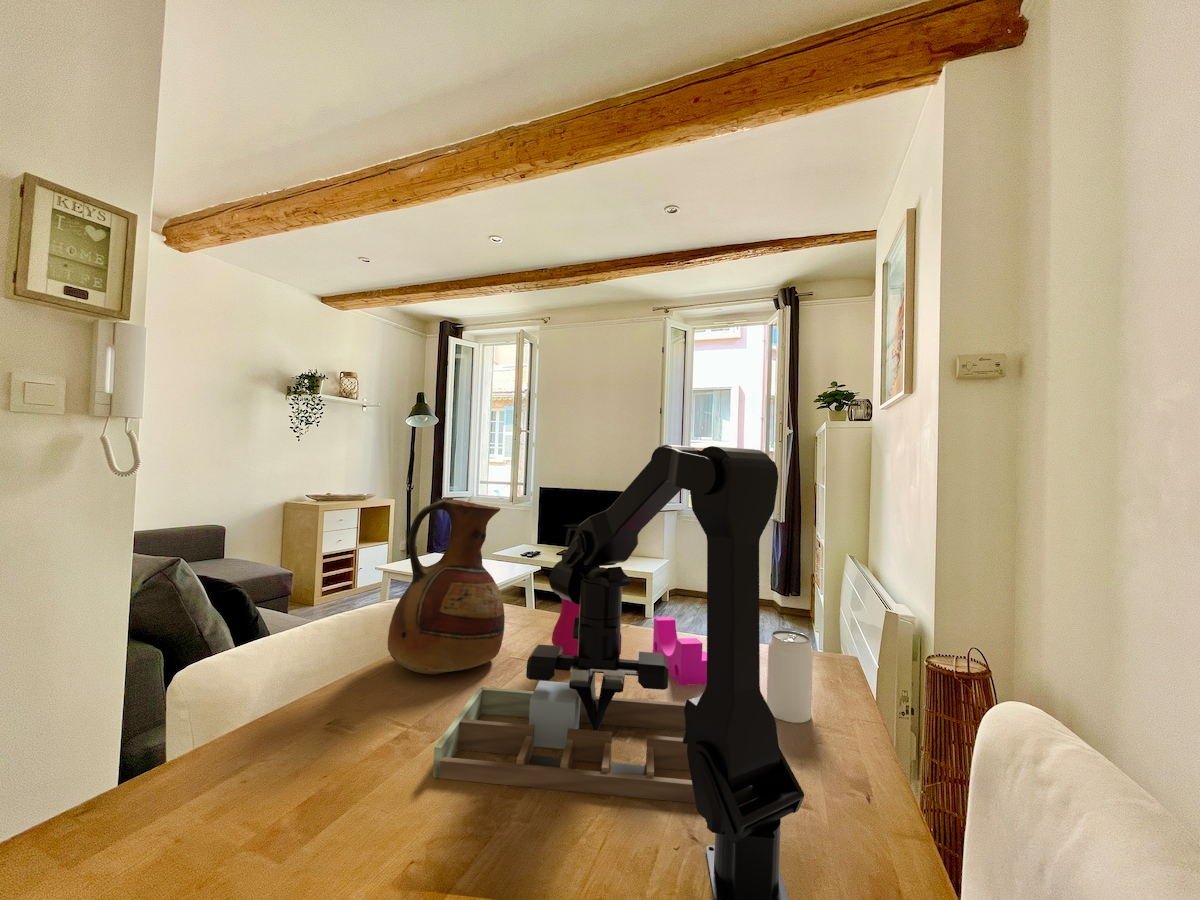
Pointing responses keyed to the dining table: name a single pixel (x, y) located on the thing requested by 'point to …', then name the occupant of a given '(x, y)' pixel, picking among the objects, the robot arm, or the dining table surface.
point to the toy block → (680, 653)
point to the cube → (553, 713)
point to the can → (790, 676)
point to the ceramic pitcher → (449, 599)
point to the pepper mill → (566, 628)
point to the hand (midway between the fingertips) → (595, 729)
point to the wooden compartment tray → (578, 747)
